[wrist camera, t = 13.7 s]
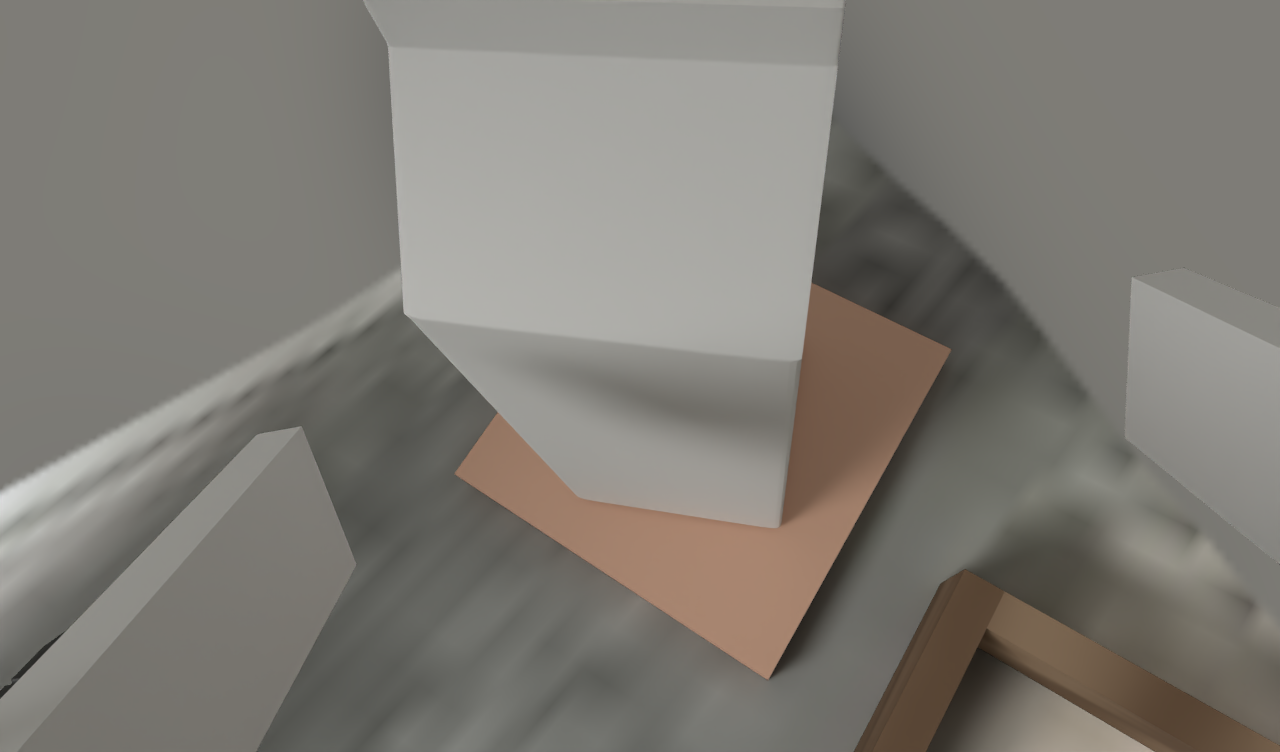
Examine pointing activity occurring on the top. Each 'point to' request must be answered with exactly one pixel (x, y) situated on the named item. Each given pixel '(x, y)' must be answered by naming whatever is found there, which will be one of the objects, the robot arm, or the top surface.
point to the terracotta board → (731, 552)
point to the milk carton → (620, 228)
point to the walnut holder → (1037, 677)
